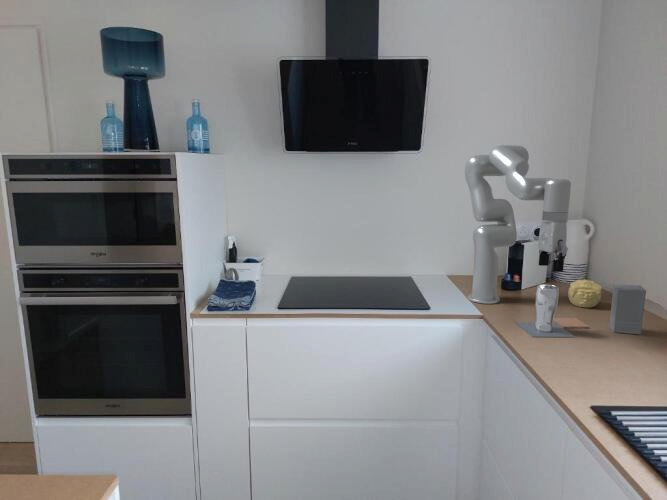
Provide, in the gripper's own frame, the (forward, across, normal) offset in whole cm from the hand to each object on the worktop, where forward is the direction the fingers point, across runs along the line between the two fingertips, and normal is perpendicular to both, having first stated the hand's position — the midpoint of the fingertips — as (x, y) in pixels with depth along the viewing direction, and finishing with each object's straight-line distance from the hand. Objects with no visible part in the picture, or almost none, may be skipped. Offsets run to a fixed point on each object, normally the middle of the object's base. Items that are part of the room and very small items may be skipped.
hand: (550, 268), depth 150 cm
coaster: (+22, -6, +12) cm, 25 cm away
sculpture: (+22, -28, +29) cm, 46 cm away
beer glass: (+22, 0, 0) cm, 22 cm away
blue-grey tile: (+22, 0, 0) cm, 22 cm away
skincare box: (+22, +1, +27) cm, 35 cm away
